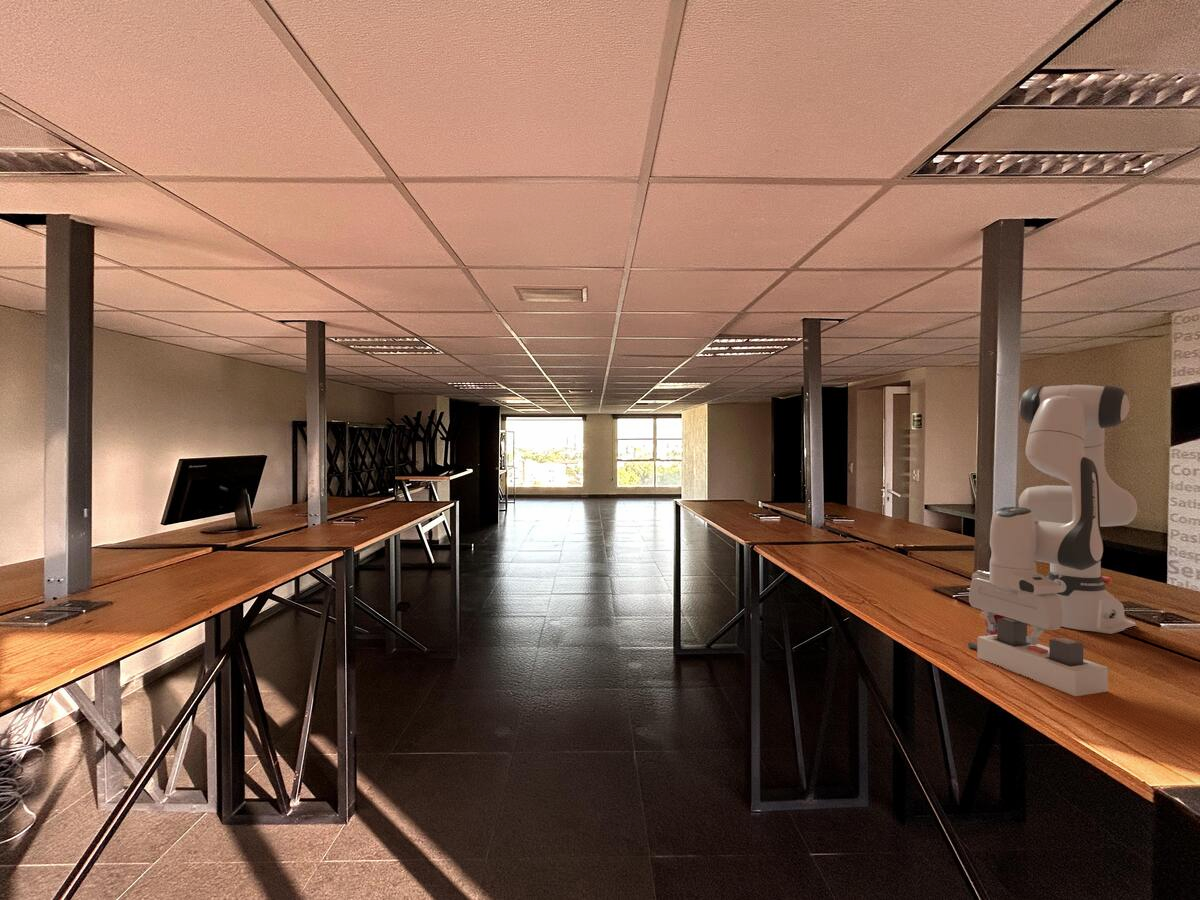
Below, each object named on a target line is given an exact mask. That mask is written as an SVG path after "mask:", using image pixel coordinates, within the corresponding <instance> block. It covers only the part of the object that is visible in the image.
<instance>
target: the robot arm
mask: <svg viewBox="0 0 1200 900" xmlns="http://www.w3.org/2000/svg"><path fill="white" fill-rule="evenodd" d="M1018 407H1019V413H1020V418H1021V419H1022V420H1023V421H1024V422H1026V423H1027V424H1030V427H1029V431H1028V434H1027V440H1026V443H1025V456H1026V459H1027V460H1028V461H1027V462H1029V463H1030V464H1031V465H1032V466H1033V467H1034V468H1035V469H1037V470H1039V471H1040V472H1041V473H1044V474H1046V475H1048V476H1050V477H1053V478H1055V479H1058V480H1060V481H1061V480H1062V481H1064V482H1066V483H1067V484H1069V485H1055V484H1054V485H1050V484H1046V485H1038V486H1037V485H1036V486H1031V487H1026V488H1025V489H1024V490H1023V491H1022V492H1021V494H1020V495H1019V497H1018V506H1005V507H1000V508H997V509H996V510H995V511H994V512H993V514H992V517H991V521H990V529H989V546H990V547H989V548H990V550H991V556H990V559H989V571H984V570H981V569H979V570H976V571H974V572H973V573H972V574H971V583H970V587H969V593H968V602H969V604H970V606H971V607H972V608H974V609H978V610H981V611H983V612H982V613H983V617H984V619H986V621H987V623H988V630H990V631H994V632H997V623H996V621H995V619H994V616H993V615H995V614H997V615H1001V616H1004V617H1007V618H1010V619H1014V620H1017V621H1020V622H1023V623H1027V625H1030V630H1031V631H1032V632H1031V633H1030V634H1027V635H1026V639H1027V640H1026V642H1027V643H1029V644H1032V645H1037V644H1039V637H1040V636H1042V634H1043V632H1044V631H1045V630H1046V631H1052V630H1059V629H1060V628H1061V627H1063V628H1065V629H1066V628H1067V629H1071V630H1078V631H1086V632H1087V631H1088V632H1096V633H1102V634H1110V635H1111V634H1112V635H1113V634H1116V633H1119V632H1123V631H1126V630H1127V629H1126V628H1128V627H1131V626H1135V625H1136V626H1137V623H1136V622H1134V621H1132V620H1130V619H1127V618H1125V608H1124V605H1123V603H1122V602H1121V601H1119V600H1118V598H1116V597H1114V596H1113V595H1112V594H1111V593H1110V592H1109V591H1108V590H1106V589H1107V588H1106V584H1107V585H1111V584H1112V583H1113V579H1112V577H1111V576H1110V577H1109V576H1105V575H1102V576H1101V563H1102V561H1101V560H1102V558H1103V555H1104V554H1103V553H1104V543H1103V541H1104V540H1103V535H1102V531H1101V530H1102V529H1101V527H1102V528H1103V527H1106V528H1107V527H1117V526H1118V527H1119V526H1126V525H1129V524H1130V523H1131V522H1132V521H1133V520H1134V519H1135V518H1136V516H1137V514H1138V504H1137V501H1136V498H1135V497H1134V496H1133V495H1132V494H1131V493H1130V492H1129V491H1128V490H1126V489H1124V488H1123V487H1120V486H1119V485H1118V484H1117V483H1116V482H1114V481H1113V479H1112V478H1111V477H1110V476H1109V474H1108V471H1107V468H1106V464H1105V463H1106V462H1105V444H1106V443H1105V442H1106V441H1105V437H1106V435H1105V433H1106V431H1105V429H1108V428H1115V427H1117V426H1119V425H1121V424H1122V423H1123V422H1124V421H1125V418H1127V416H1128V414H1129V411H1130V401H1129V397H1128V395H1127V392H1126V391H1125V390H1124V389H1123V388H1121V387H1119V386H1118V387H1117V386H1115V385H1114V386H1113V385H1105V386H1102V385H1101V386H1100V385H1093V384H1072V385H1071V384H1069V385H1068V384H1066V385H1065V384H1063V385H1062V384H1061V385H1050V386H1044V385H1038V386H1032V387H1029V388H1028V389H1027V390H1025V391H1024V392H1023V393H1022V396H1021V398H1020V401H1019V406H1018ZM1036 562H1039V563H1046V564H1049V570H1048V573H1047V576H1045V575H1044V574H1042V573H1040V572H1038V571H1037V563H1036ZM1125 629H1126V630H1125Z"/></svg>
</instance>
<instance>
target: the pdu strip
mask: <svg viewBox="0 0 1200 900" xmlns="http://www.w3.org/2000/svg"><path fill="white" fill-rule="evenodd" d="M1048 643H1049V645H1048V646H1046V645H1043V644H1040V643H1038V644H1037V645H1032V644H1029V643H1027V645H1026V646H1018V647H1013V646H1010V645H1007V644H1005V643H1002V642H999V641H997V635H988V636H986V635H981V636H977V642H976V643H975V642H972V641H968V644H967V647H968V648H969V649H970V648H971V649H973V650H975V651H977V655H976V658H978V659H980V660H983V661H985V662H987V661H988V663H990V664H992V663H993V665H995V664H996V665H995V666H997V665H999V666H998V667H1000V666H1001V667H1000V668H1002V667H1003V669H1005V670H1007V671H1010V672H1013V673H1015V674H1018V675H1020V674H1021V675H1020V676H1022V675H1023V677H1025V676H1026V678H1027V677H1029V678H1028V679H1030V678H1031V679H1030V680H1032V679H1033V680H1032V681H1036V682H1037V683H1041V684H1043V685H1045V686H1047V687H1051V688H1053V689H1056V690H1058V691H1060V692H1064V693H1065V694H1068V695H1071V696H1073V697H1081V696H1087V695H1092V694H1093V695H1094V694H1099V693H1106V692H1108V691H1109V667H1108V666H1105V665H1102V664H1099V663H1097V662H1093V661H1090V660H1088V659H1084V643H1081V642H1078V641H1077V640H1073V639H1071V638H1067V637H1058V638H1052V639H1049V642H1048Z"/></svg>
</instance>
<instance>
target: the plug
mask: <svg viewBox="0 0 1200 900" xmlns="http://www.w3.org/2000/svg"><path fill="white" fill-rule="evenodd" d="M1026 635H1028V624H1027V623H1023V622H1020V621H1017V620H1014V619H1010V618H1007V617H1004V618H998V619H997V641H999V642H1002V643H1005V644H1007V645H1010V646H1013V647H1018V646H1026V645H1027V642H1026V640H1027V639H1026Z"/></svg>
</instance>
